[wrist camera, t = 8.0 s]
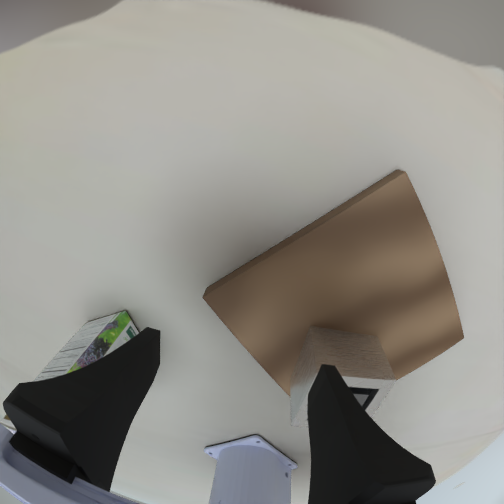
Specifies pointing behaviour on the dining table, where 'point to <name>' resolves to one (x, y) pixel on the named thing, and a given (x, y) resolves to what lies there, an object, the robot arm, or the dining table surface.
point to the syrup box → (87, 348)
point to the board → (346, 285)
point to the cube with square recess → (340, 368)
